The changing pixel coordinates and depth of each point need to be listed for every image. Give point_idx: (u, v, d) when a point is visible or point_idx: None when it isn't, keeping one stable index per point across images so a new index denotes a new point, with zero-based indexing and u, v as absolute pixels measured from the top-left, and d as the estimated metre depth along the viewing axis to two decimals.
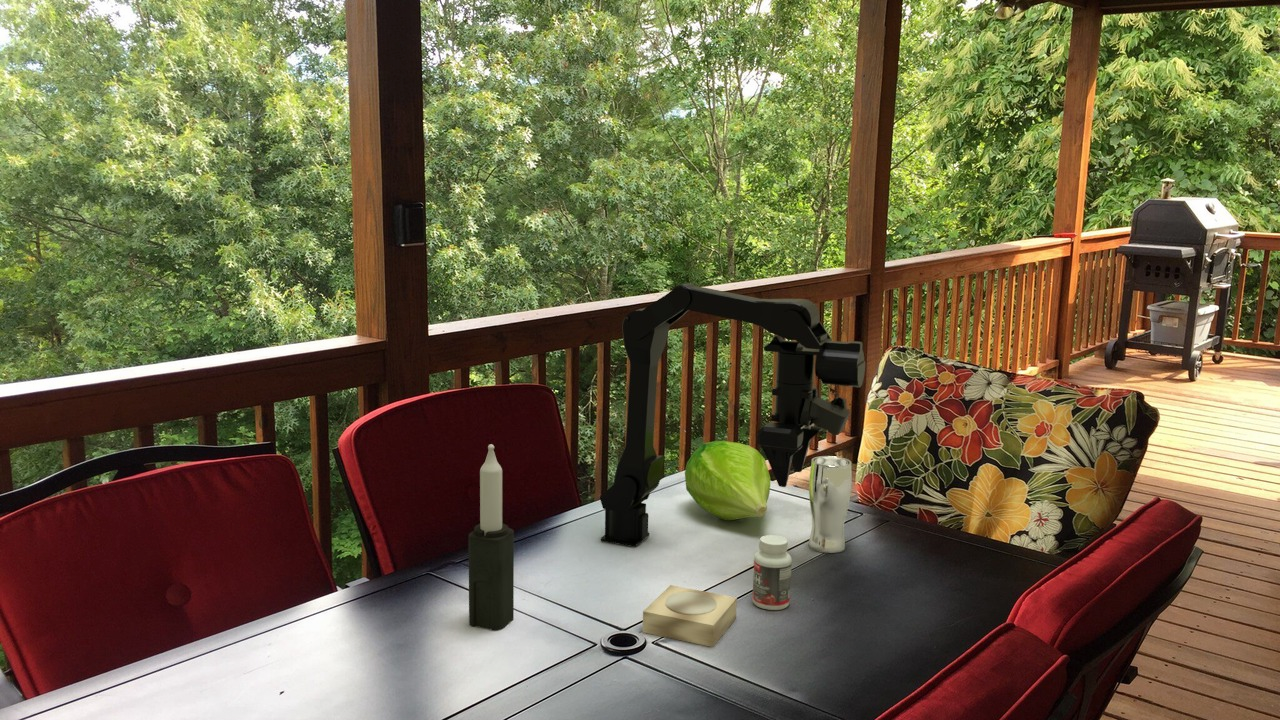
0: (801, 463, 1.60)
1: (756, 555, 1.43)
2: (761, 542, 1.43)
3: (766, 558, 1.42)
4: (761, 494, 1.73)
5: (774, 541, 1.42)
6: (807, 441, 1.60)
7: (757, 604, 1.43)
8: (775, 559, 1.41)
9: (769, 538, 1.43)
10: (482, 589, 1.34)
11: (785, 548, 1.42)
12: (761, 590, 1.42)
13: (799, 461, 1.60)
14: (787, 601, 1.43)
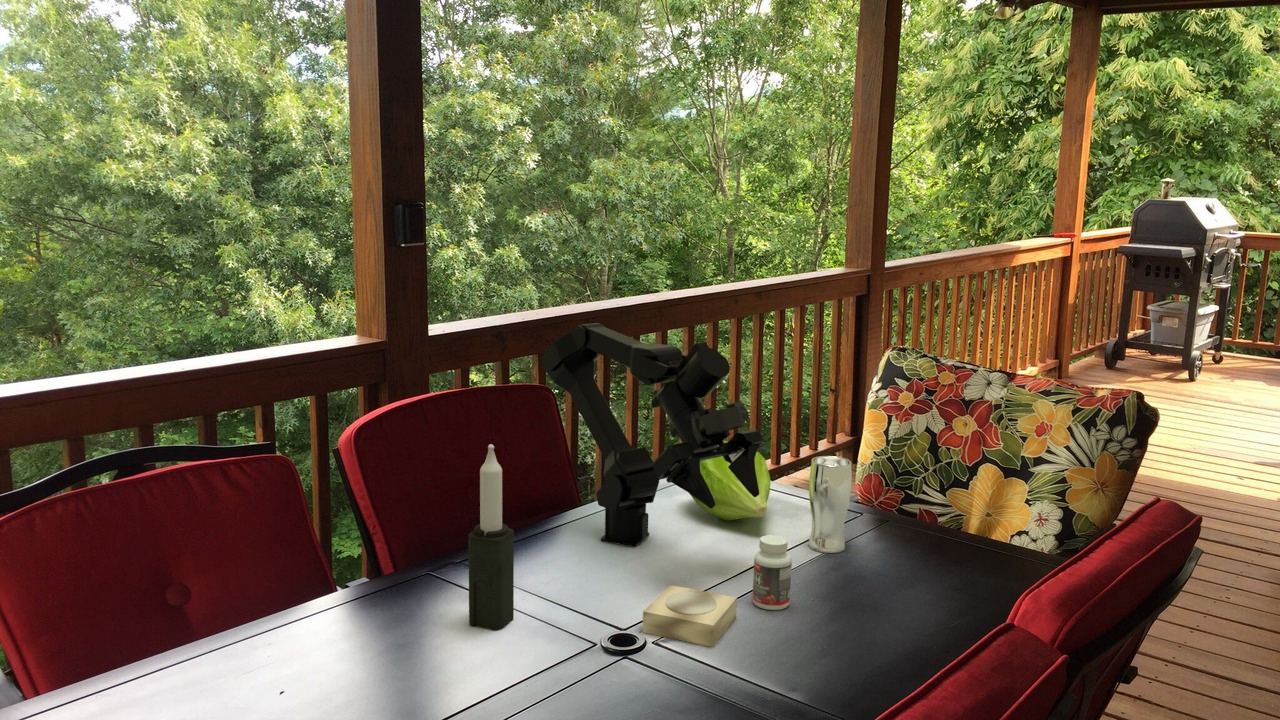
0: (753, 485, 1.52)
1: (756, 555, 1.43)
2: (761, 542, 1.43)
3: (766, 558, 1.42)
4: (761, 494, 1.73)
5: (774, 541, 1.42)
6: (746, 463, 1.53)
7: (757, 604, 1.43)
8: (775, 559, 1.41)
9: (770, 538, 1.43)
10: (482, 589, 1.34)
11: (785, 548, 1.42)
12: (761, 590, 1.42)
13: (751, 485, 1.52)
14: (787, 601, 1.43)
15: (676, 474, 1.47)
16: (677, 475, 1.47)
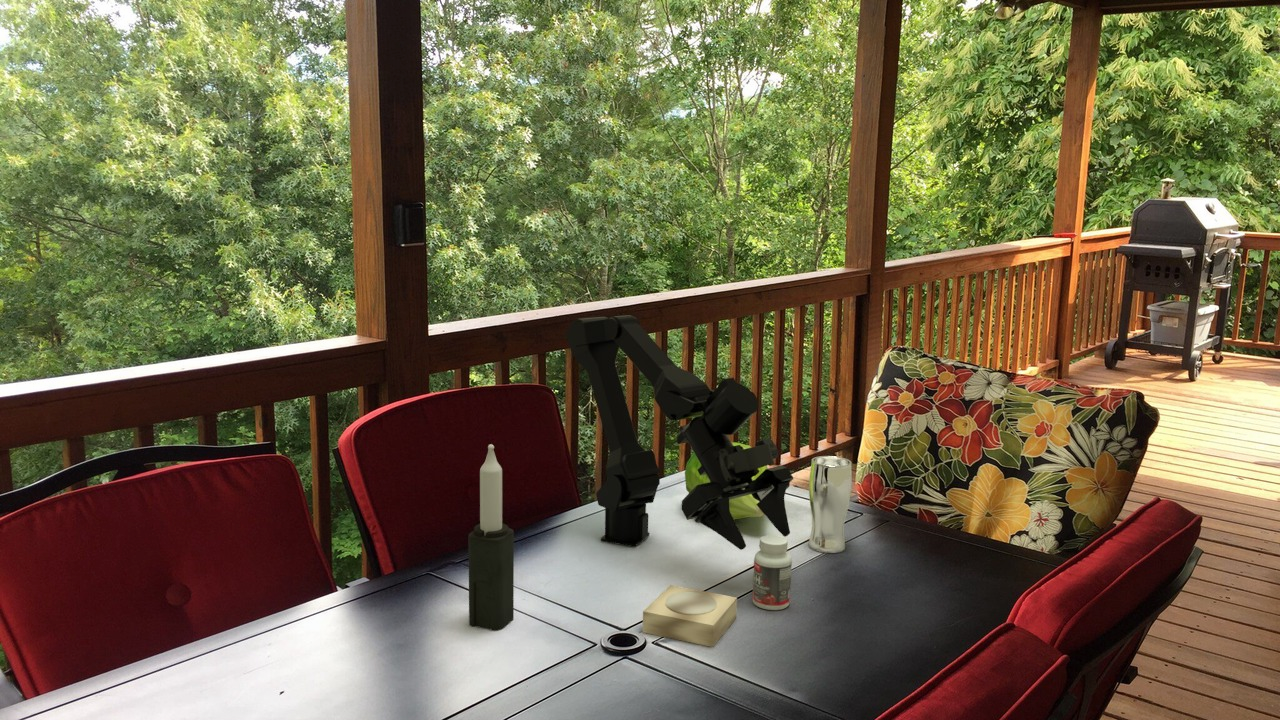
0: (783, 524, 1.47)
1: (756, 555, 1.43)
2: (761, 542, 1.43)
3: (766, 558, 1.42)
4: None
5: (774, 541, 1.42)
6: (776, 501, 1.49)
7: (757, 604, 1.43)
8: (775, 559, 1.41)
9: (770, 538, 1.43)
10: (482, 589, 1.34)
11: (785, 548, 1.42)
12: (761, 590, 1.42)
13: (781, 524, 1.48)
14: (787, 601, 1.43)
15: (705, 514, 1.43)
16: (706, 515, 1.43)
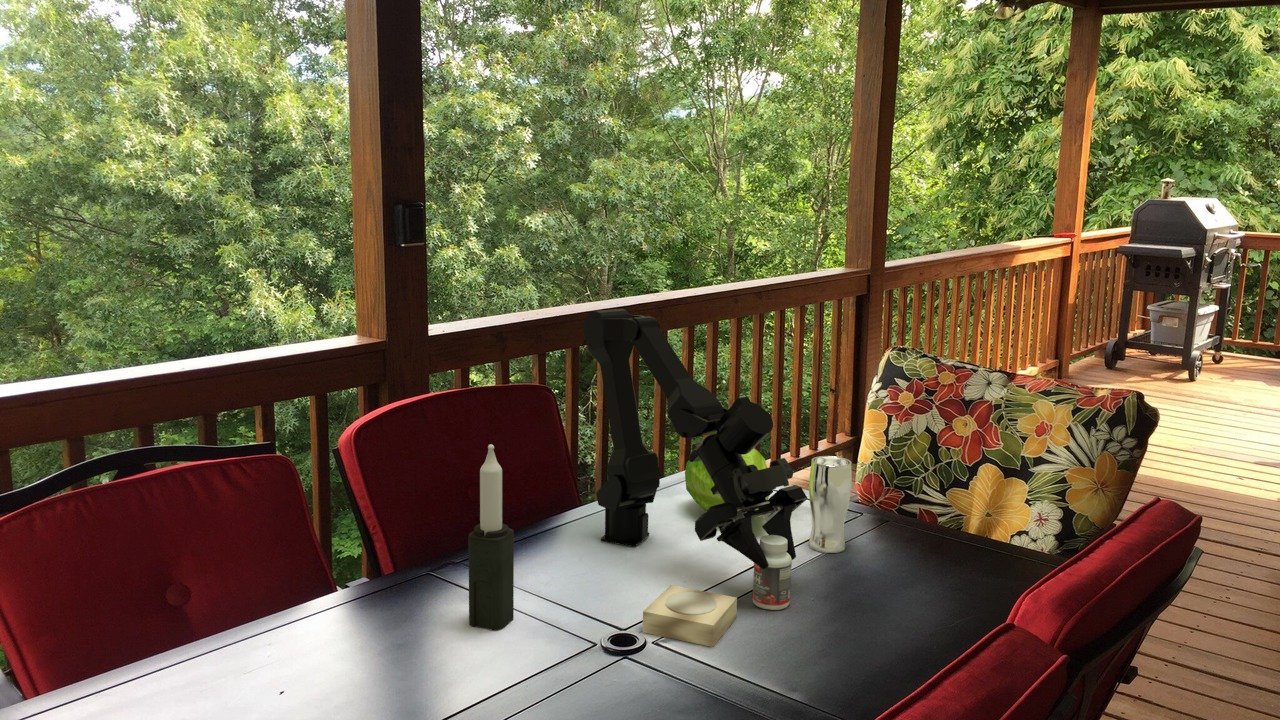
0: (789, 548, 1.45)
1: None
2: (761, 542, 1.43)
3: (767, 558, 1.42)
4: None
5: (774, 541, 1.42)
6: (782, 523, 1.46)
7: (757, 604, 1.43)
8: (775, 559, 1.41)
9: (770, 538, 1.43)
10: (482, 589, 1.34)
11: (785, 548, 1.42)
12: (761, 590, 1.42)
13: (787, 548, 1.45)
14: (788, 601, 1.43)
15: (727, 533, 1.42)
16: (728, 534, 1.42)
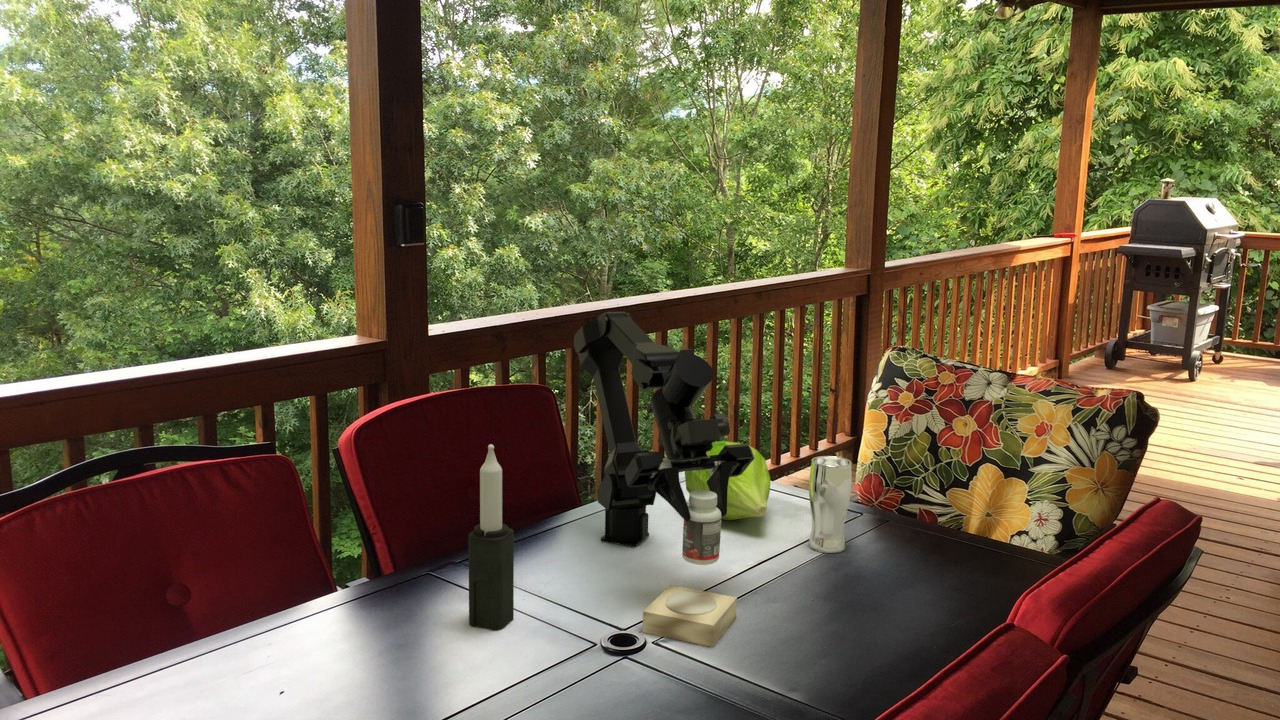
0: (721, 504, 1.43)
1: None
2: (689, 495, 1.42)
3: (692, 511, 1.41)
4: (761, 494, 1.73)
5: (701, 495, 1.41)
6: (718, 479, 1.44)
7: (683, 557, 1.43)
8: (699, 513, 1.41)
9: (700, 492, 1.43)
10: (482, 589, 1.34)
11: (712, 503, 1.41)
12: (686, 543, 1.42)
13: (720, 504, 1.43)
14: (714, 557, 1.42)
15: (655, 482, 1.43)
16: (657, 483, 1.43)
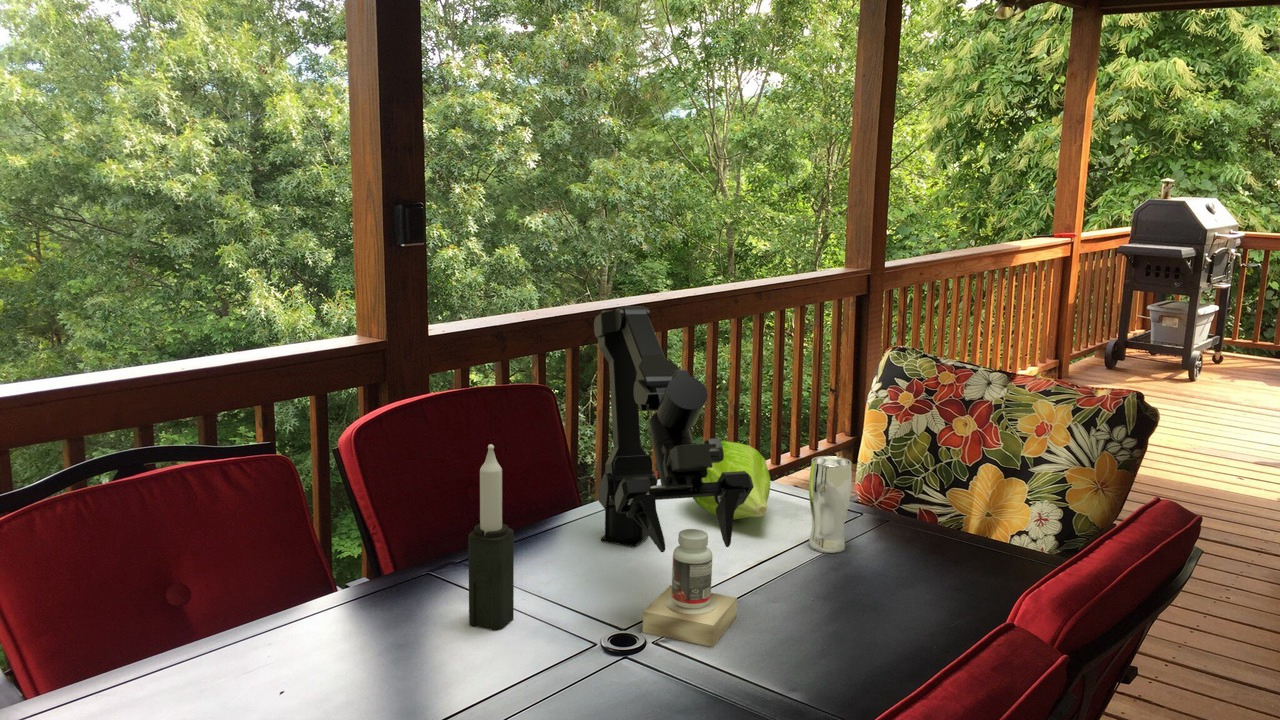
0: (725, 534, 1.35)
1: (676, 547, 1.36)
2: None
3: (680, 551, 1.34)
4: (761, 494, 1.73)
5: (690, 535, 1.34)
6: (724, 507, 1.37)
7: (672, 599, 1.36)
8: (687, 554, 1.33)
9: (690, 532, 1.35)
10: (482, 589, 1.34)
11: (700, 544, 1.33)
12: (674, 584, 1.35)
13: (724, 533, 1.36)
14: (702, 601, 1.34)
15: (632, 510, 1.36)
16: (635, 511, 1.36)
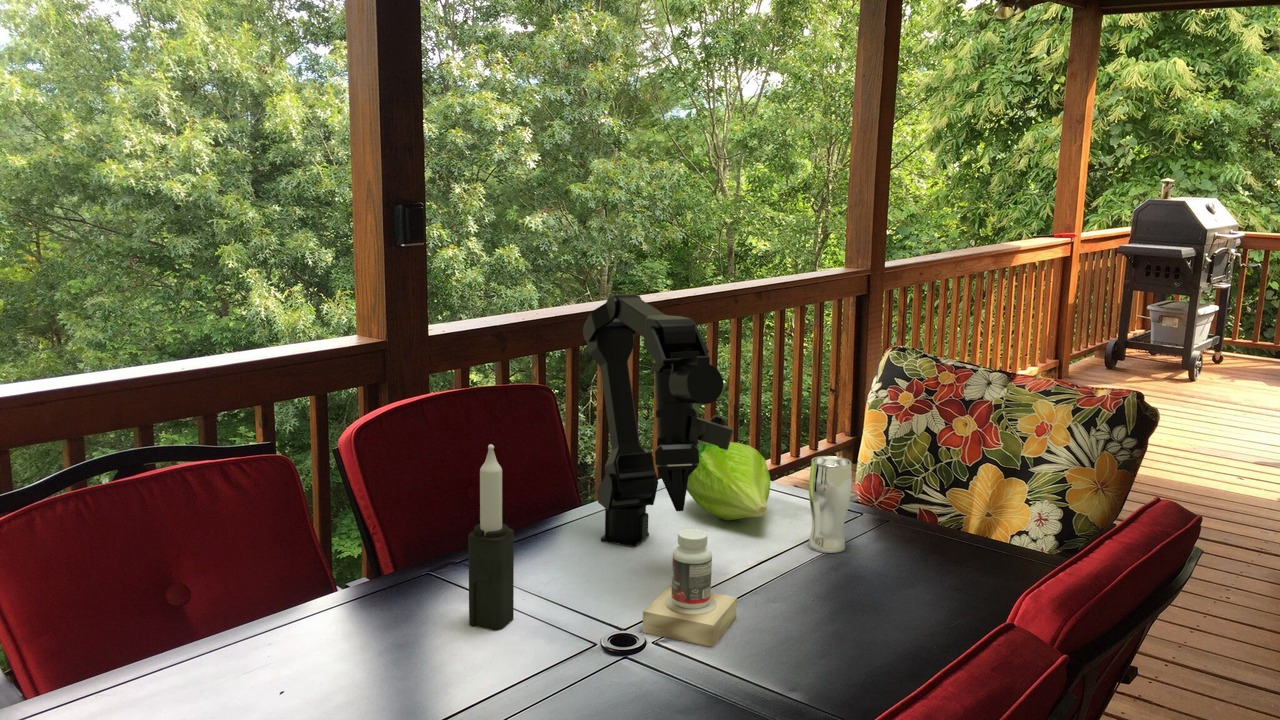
0: None
1: (675, 548, 1.36)
2: (678, 534, 1.35)
3: (679, 552, 1.34)
4: (761, 494, 1.73)
5: (690, 535, 1.34)
6: None
7: (672, 599, 1.36)
8: (686, 554, 1.33)
9: (690, 532, 1.35)
10: (482, 589, 1.34)
11: (699, 544, 1.33)
12: (674, 585, 1.35)
13: None
14: (702, 601, 1.34)
15: (674, 469, 1.42)
16: None
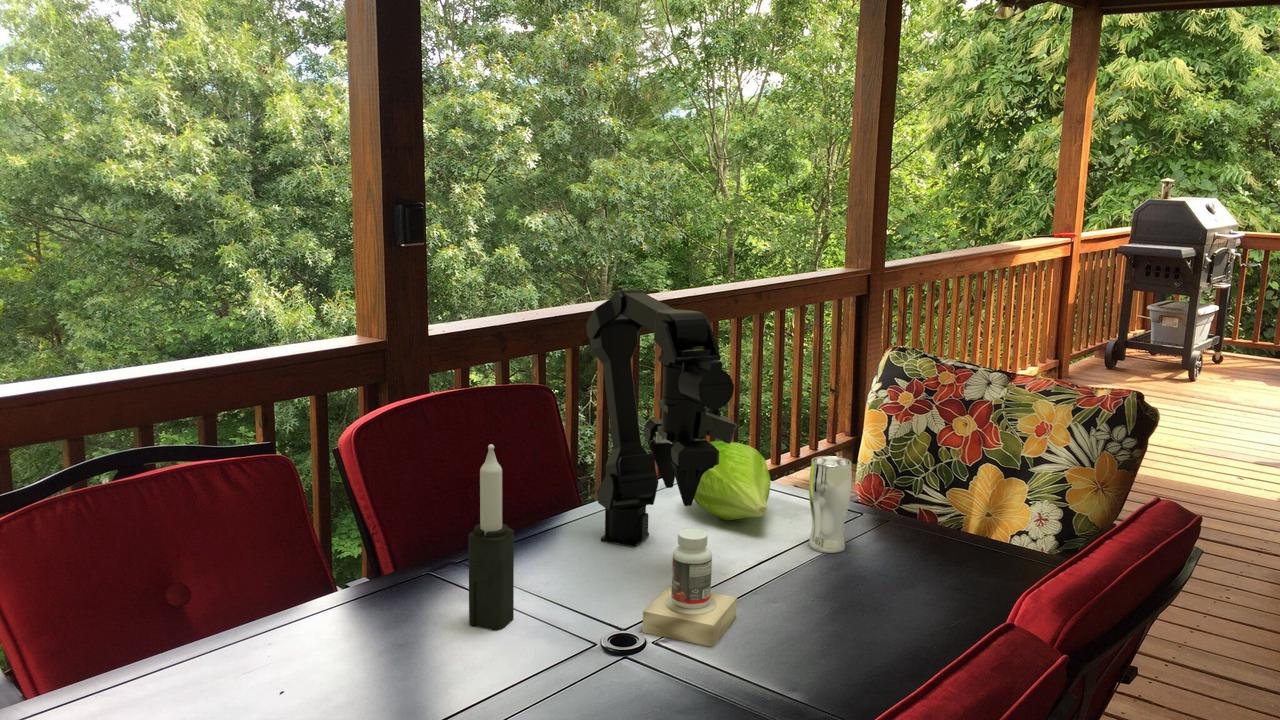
0: (673, 478, 1.56)
1: (675, 548, 1.36)
2: (678, 534, 1.35)
3: (679, 552, 1.34)
4: (761, 494, 1.73)
5: (690, 535, 1.34)
6: None
7: (672, 599, 1.36)
8: (686, 554, 1.33)
9: (690, 532, 1.35)
10: (482, 589, 1.34)
11: (700, 544, 1.33)
12: (674, 585, 1.35)
13: (671, 477, 1.55)
14: (702, 601, 1.34)
15: None
16: None
